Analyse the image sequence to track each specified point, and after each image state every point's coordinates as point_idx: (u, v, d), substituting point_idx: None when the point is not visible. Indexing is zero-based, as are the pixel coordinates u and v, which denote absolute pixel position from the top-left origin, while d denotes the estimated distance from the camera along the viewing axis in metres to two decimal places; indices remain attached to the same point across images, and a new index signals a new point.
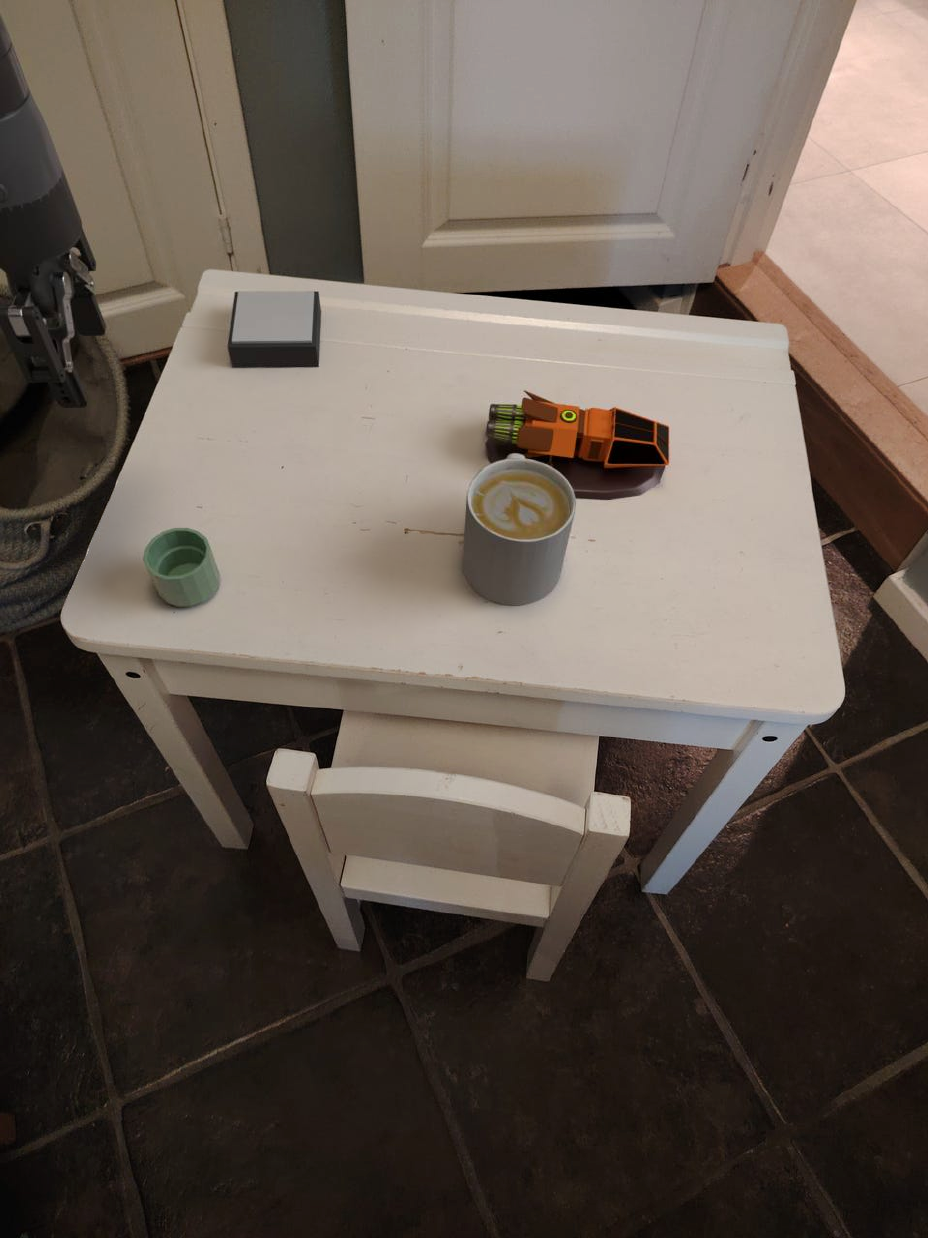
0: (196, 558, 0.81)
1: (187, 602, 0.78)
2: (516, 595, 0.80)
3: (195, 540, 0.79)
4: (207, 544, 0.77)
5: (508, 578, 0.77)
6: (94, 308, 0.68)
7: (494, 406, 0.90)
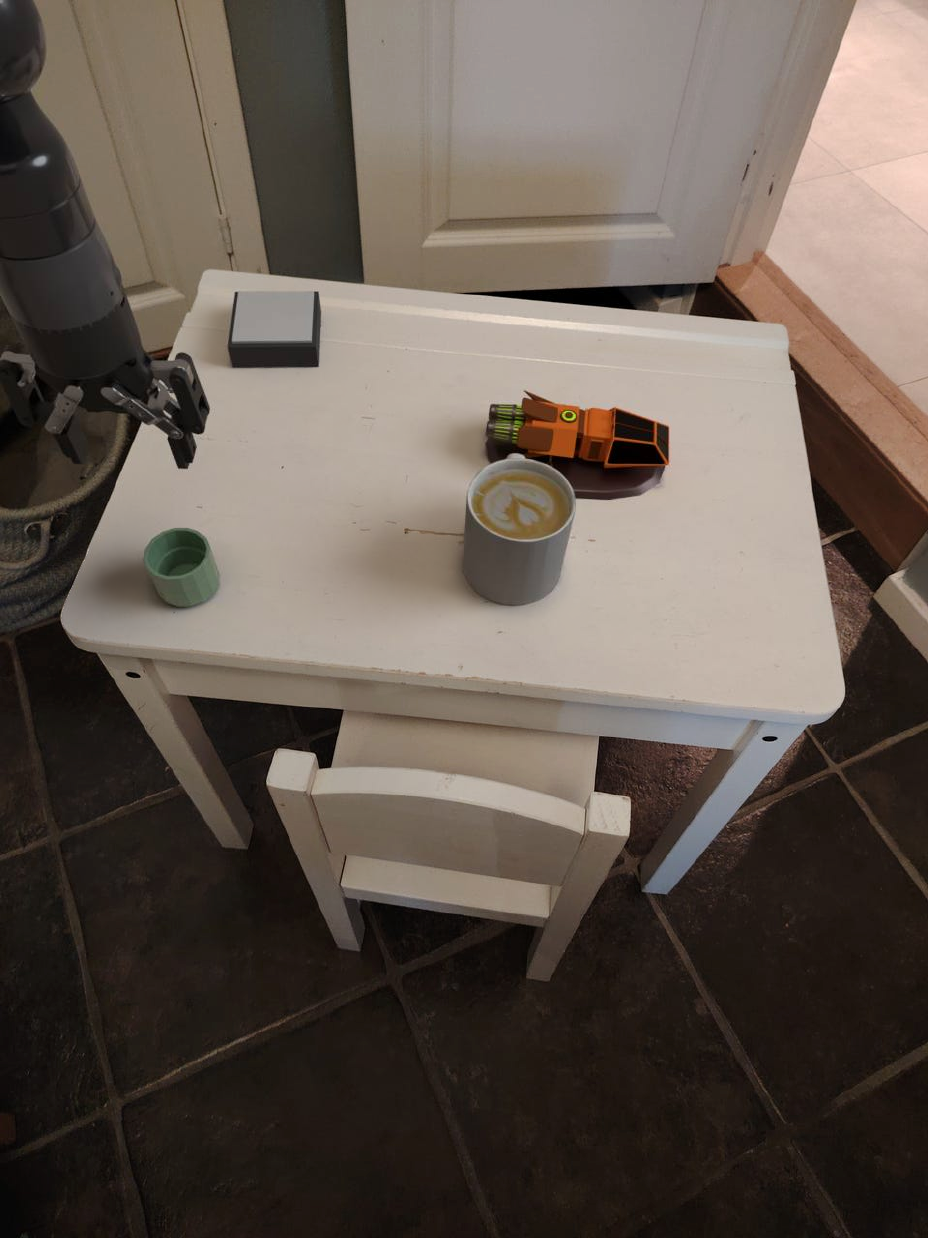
0: (196, 558, 0.81)
1: (187, 602, 0.78)
2: (516, 595, 0.80)
3: (195, 540, 0.79)
4: (207, 544, 0.77)
5: (508, 578, 0.77)
6: (78, 424, 0.68)
7: (494, 406, 0.90)
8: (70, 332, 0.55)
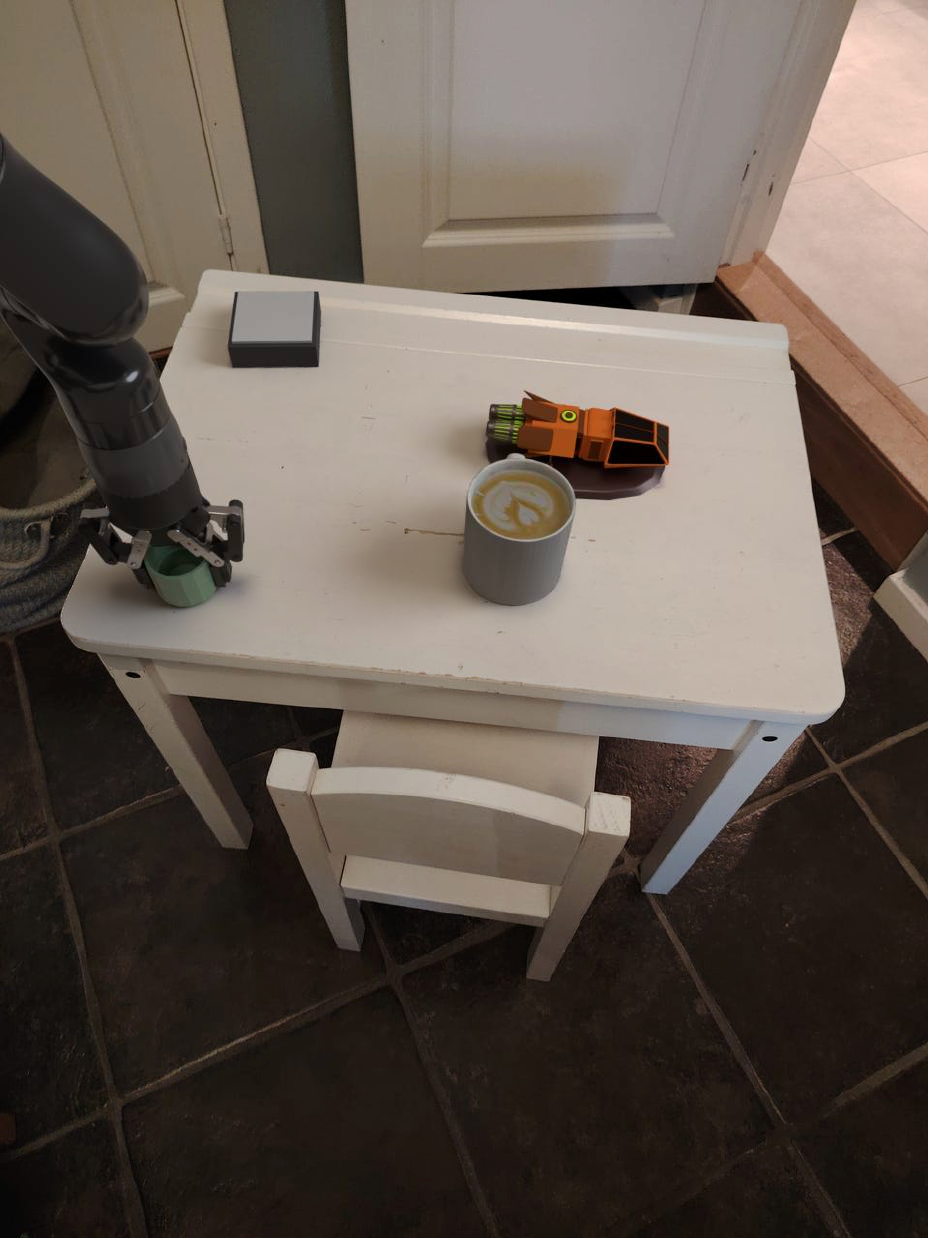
0: (196, 558, 0.81)
1: (188, 602, 0.78)
2: (516, 595, 0.80)
3: None
4: None
5: (508, 578, 0.77)
6: None
7: (494, 406, 0.90)
8: (150, 497, 0.65)
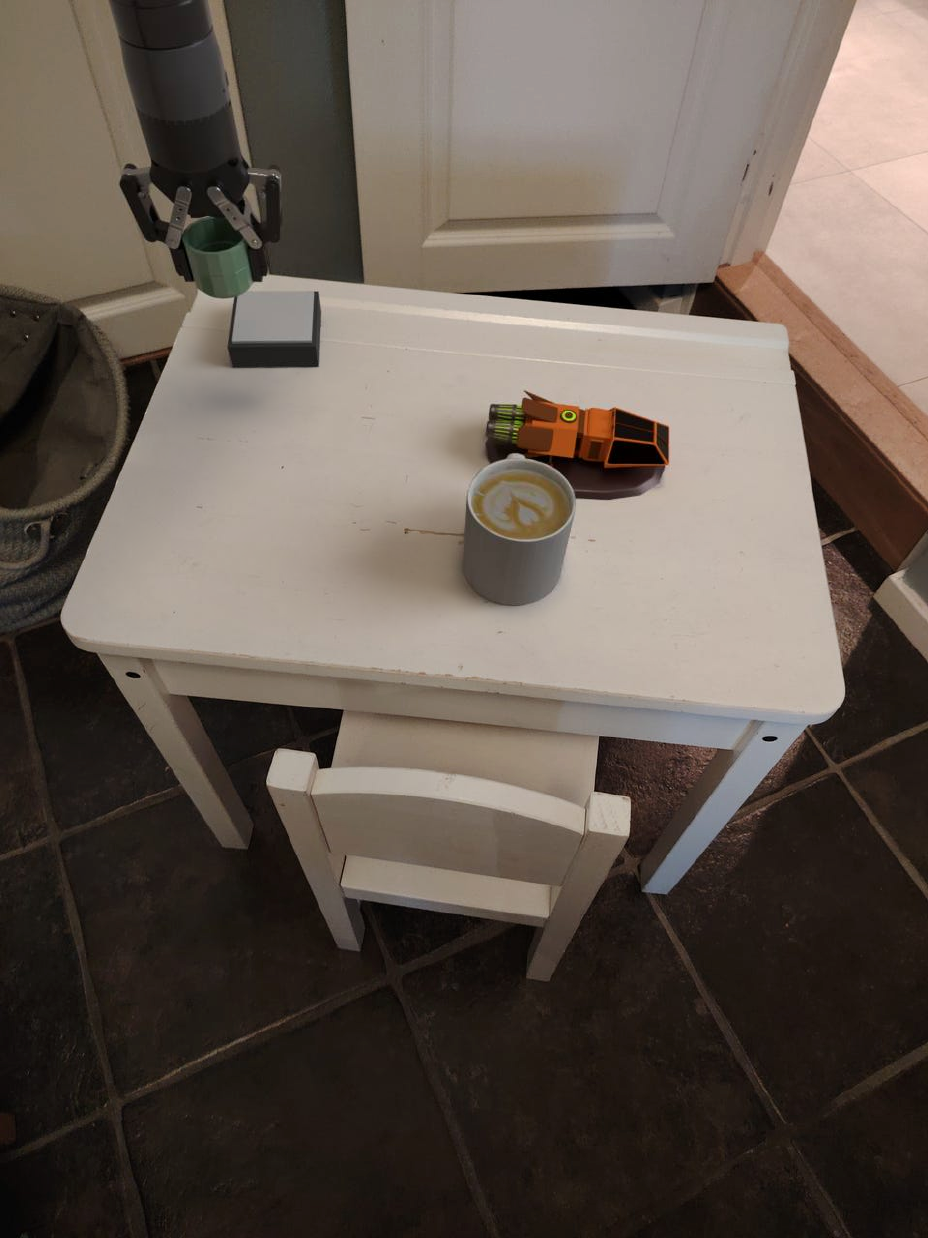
0: None
1: (224, 291, 0.79)
2: (516, 595, 0.80)
3: (232, 231, 0.79)
4: None
5: (508, 578, 0.77)
6: None
7: (494, 406, 0.90)
8: (192, 123, 0.65)
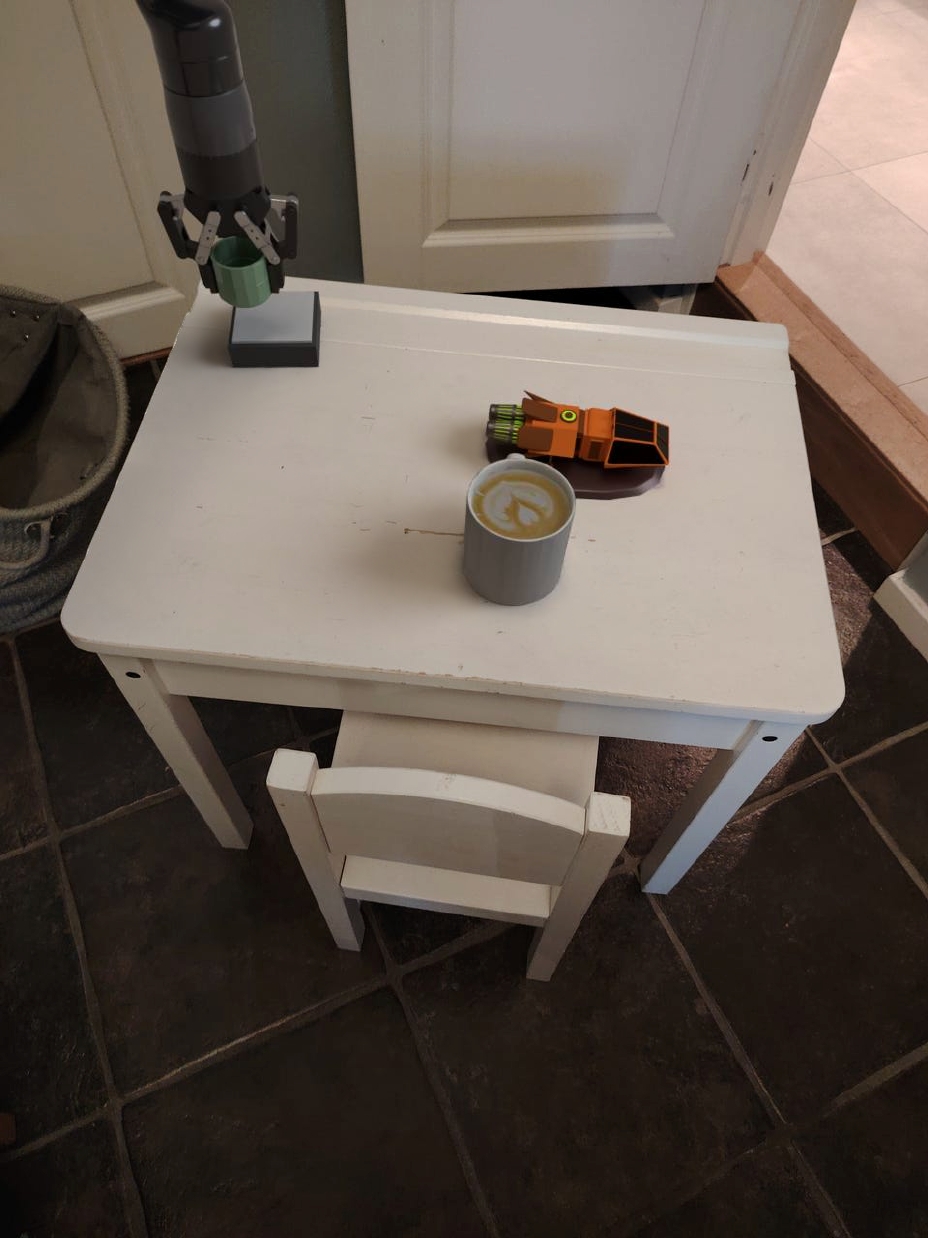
0: None
1: (247, 301, 0.89)
2: (516, 595, 0.80)
3: (253, 248, 0.90)
4: None
5: (508, 578, 0.77)
6: None
7: (494, 406, 0.90)
8: (224, 158, 0.76)
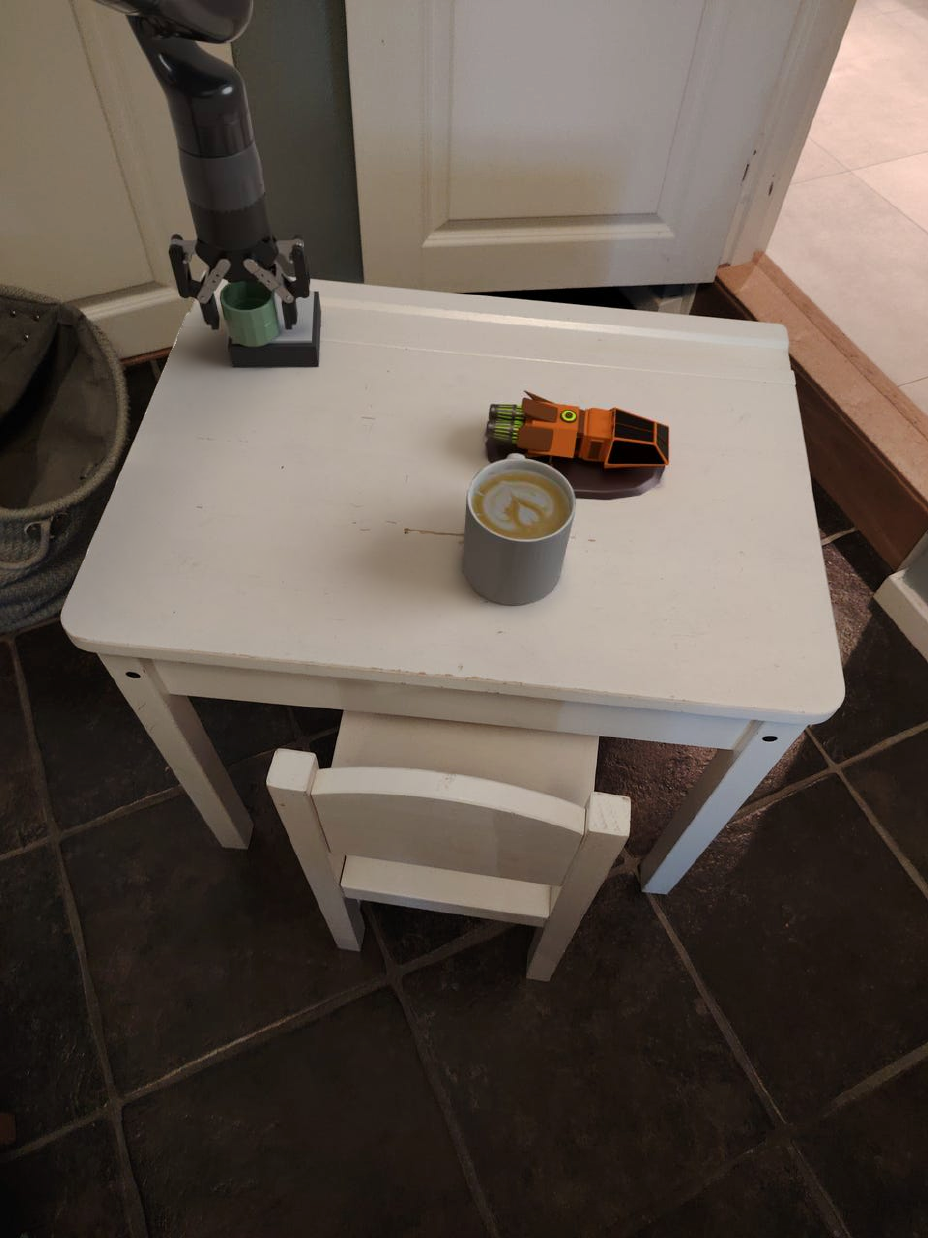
0: None
1: (255, 341, 0.93)
2: (516, 595, 0.80)
3: (261, 290, 0.94)
4: None
5: (508, 578, 0.77)
6: (215, 299, 0.93)
7: (494, 406, 0.90)
8: (235, 212, 0.80)
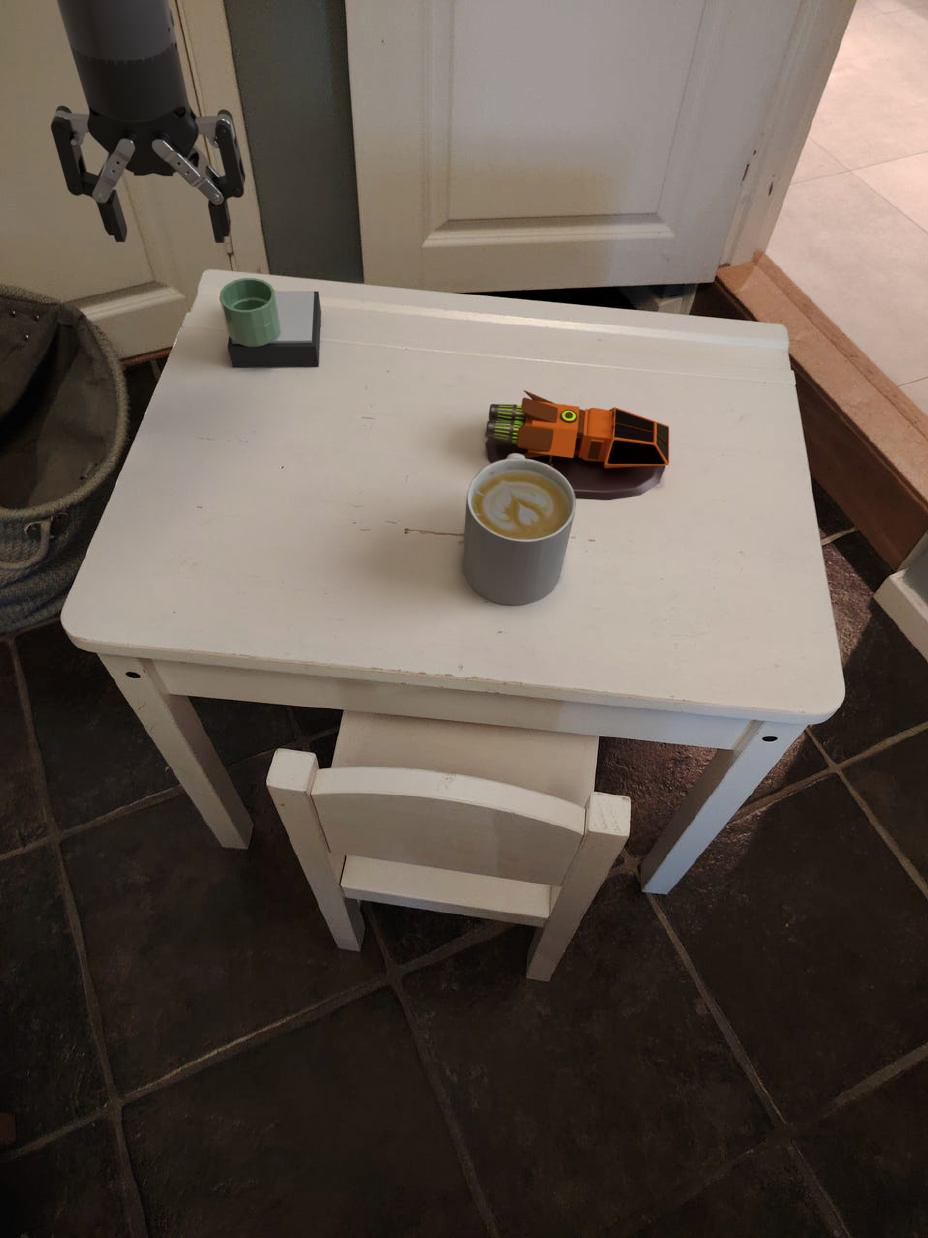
0: None
1: (255, 341, 0.93)
2: (516, 595, 0.80)
3: (261, 290, 0.94)
4: (272, 289, 0.92)
5: (508, 578, 0.77)
6: None
7: (494, 406, 0.90)
8: (134, 64, 0.60)
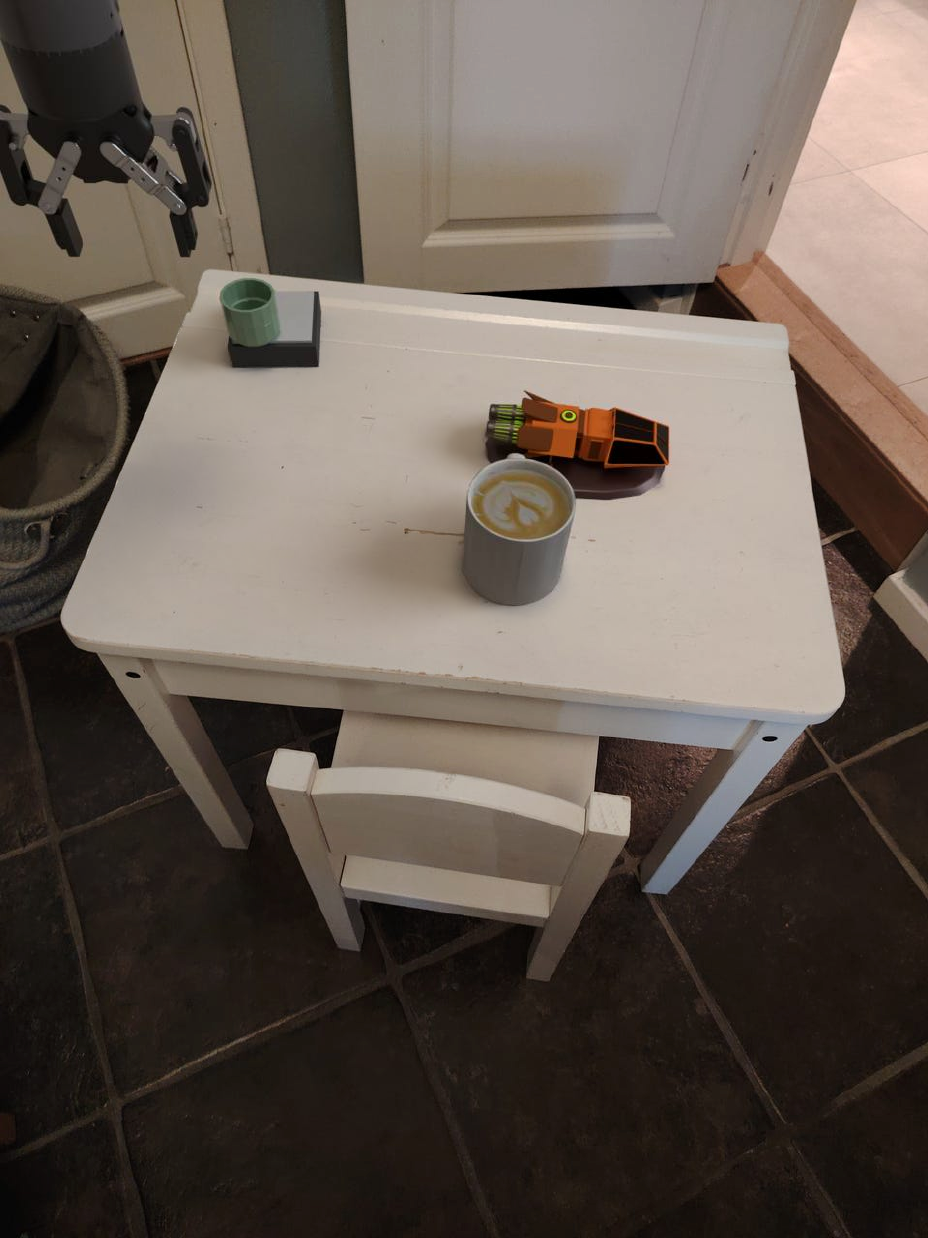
0: None
1: (255, 341, 0.93)
2: (516, 595, 0.80)
3: (261, 290, 0.94)
4: (272, 289, 0.92)
5: (508, 578, 0.77)
6: (71, 211, 0.64)
7: (494, 406, 0.90)
8: (70, 55, 0.51)
